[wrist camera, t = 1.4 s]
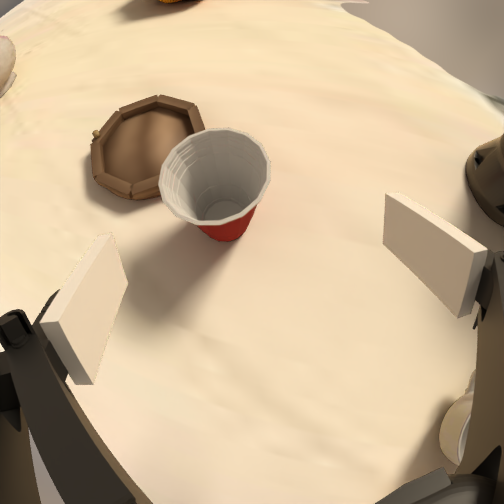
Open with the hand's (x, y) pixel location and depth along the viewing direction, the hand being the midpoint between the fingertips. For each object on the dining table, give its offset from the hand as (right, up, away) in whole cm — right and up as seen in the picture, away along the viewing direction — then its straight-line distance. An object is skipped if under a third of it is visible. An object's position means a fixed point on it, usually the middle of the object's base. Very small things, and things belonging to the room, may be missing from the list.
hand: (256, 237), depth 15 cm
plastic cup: (-4, +3, +26) cm, 26 cm away
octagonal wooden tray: (-15, +14, +29) cm, 36 cm away
